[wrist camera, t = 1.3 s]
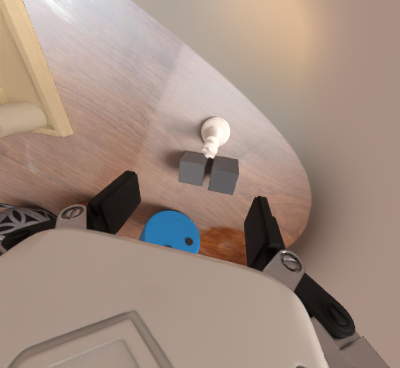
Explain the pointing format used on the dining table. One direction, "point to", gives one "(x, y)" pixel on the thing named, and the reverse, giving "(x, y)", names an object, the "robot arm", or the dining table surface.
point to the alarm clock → (171, 231)
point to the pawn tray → (26, 79)
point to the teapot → (20, 218)
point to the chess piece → (214, 135)
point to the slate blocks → (220, 174)
